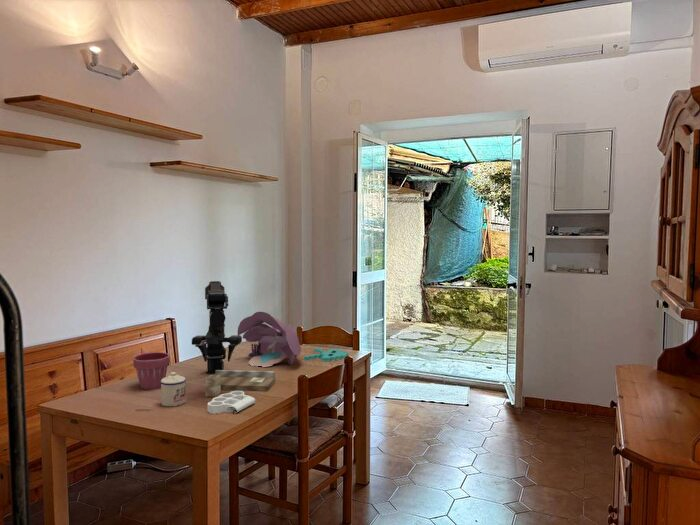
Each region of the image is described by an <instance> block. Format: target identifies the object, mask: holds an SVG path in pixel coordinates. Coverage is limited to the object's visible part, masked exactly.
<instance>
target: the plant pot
mask: <svg viewBox="0 0 700 525" xmlns="http://www.w3.org/2000/svg"><path fill="white" fill-rule="evenodd" d="M170 357H171V355H170V353H168V352H160V351H159V352H158V351H156V352H153V351H152V352H151V351H150V352H146V353H145V352H144V353H140V354H137V355H134V357H133V359H132V362H133V364H132V365H133V368H134V369H135V371H136V374H137V378H138V383H139V386H140V389H142V388H144V389H143V390H156V389H159V388H161V383H160V382H161V380H162V379H163V378H165V377H167V371H168V365H170V362H171V360H170V359H171V358H170ZM155 388H156V389H155Z"/></svg>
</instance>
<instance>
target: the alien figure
mask: <svg viewBox="0 0 700 525" xmlns="http://www.w3.org/2000/svg"><path fill="white" fill-rule="evenodd" d="M314 351H317V352H320V353H317V352H316V353H315V354H311V355H305V356H304V359H303V360H304V361H310V360H315V359H316V358H320V357H321V358H320V360H321V362H331V360H335V361H336V359H341V360H344V359H343V358H344V357H346V356H348V357H349V352H346V351H343V350H340V349H338V348H330V349H328V351H326V350H324V349H323V350H322V349H321V348H318V347H314V348H313V352H314ZM309 359H310V360H309Z"/></svg>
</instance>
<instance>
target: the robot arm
mask: <svg viewBox="0 0 700 525" xmlns="http://www.w3.org/2000/svg"><path fill="white" fill-rule="evenodd" d="M204 300H206V310H209V316H208V317H209V318H208V319H209V326H208V330H207V333H206V334H205V335H195V336H193V337H192V338H191V345H192V346H194V347H195V348H196V347H197V348H198V349H199V351H200V352H201V355H202V357H203V360H204V362H206V363H207V364H206V366H207V368H206V369H207V371H206V372H205V373H206V374H211V375H215V371H216V370H225V368H224V367H225V365H224V364H225V363H224V360H225V359H226V358H227V362H228V363H229V362H230V361H231V358H232V355H233V353H234V349H235V348H236V347H237V346H239V345H240V344H241V343H243V336H241V334H240V335H238V334H237V335H235V334H233V335H230V336H229V337H225V336H226V333H225V327H226V326H225V321H226V315H225V310H227V309H228V307H229V296H228V294H227V293H226V292H225V287H224V285H222V282H221V281H218V280H217V281H216V280H215V281H209V282H208V285H207V286H205V287H204ZM224 309H225V310H224ZM224 343H229V344H228V345H227V347H228V353H226V352H227V349H226V347H225V346H224ZM226 355H227V357H226Z"/></svg>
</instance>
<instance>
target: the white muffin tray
mask: <svg viewBox="0 0 700 525" xmlns="http://www.w3.org/2000/svg"><path fill="white" fill-rule="evenodd" d="M255 403H256V398H254V397H253V396H251V395H246V394H245V391H244V390H231V391H230V392H227V393H223V394H219V395H217V396H216V397H213V398H212V399H211V401H209V402H207V413H208V412H209V413H208V414H211V413H212V415H217V414H216V413H218V414H222V413H229V414H231V413H230V412H232V411H234V410H235V409H236V411H237V412H236V411H234V412H235V413H234V414H238V412H240V411H242V410H244V409H246V408H248V407H249V406H251V405H253V404H255ZM221 412H222V413H221Z"/></svg>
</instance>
